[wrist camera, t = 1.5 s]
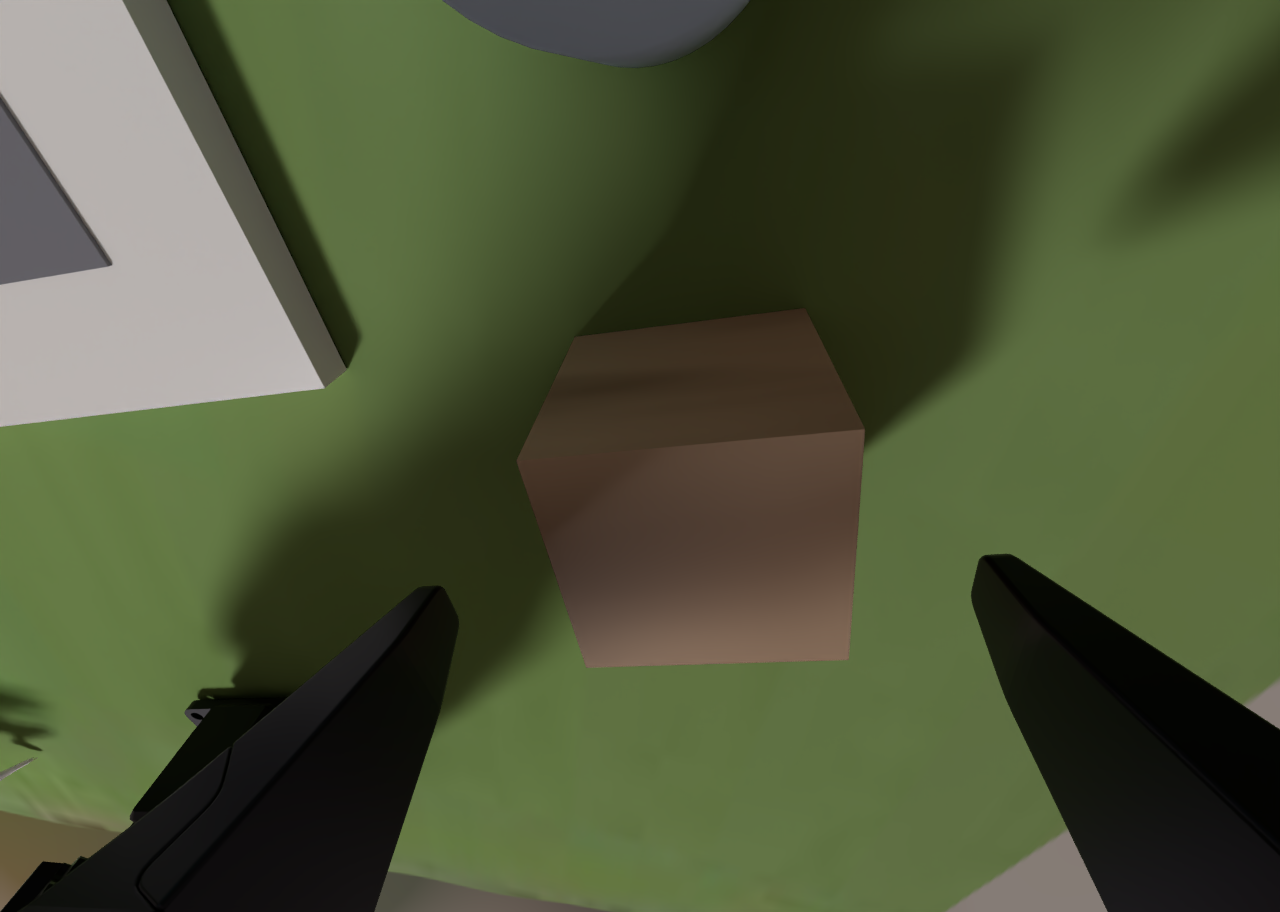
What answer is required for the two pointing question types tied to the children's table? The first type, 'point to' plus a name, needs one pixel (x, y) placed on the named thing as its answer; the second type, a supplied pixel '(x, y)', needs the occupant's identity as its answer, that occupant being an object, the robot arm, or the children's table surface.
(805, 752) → the children's table surface
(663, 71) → the children's table surface
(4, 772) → the spiky ball
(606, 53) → the blue cylinder
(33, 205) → the board
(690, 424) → the walnut cube
